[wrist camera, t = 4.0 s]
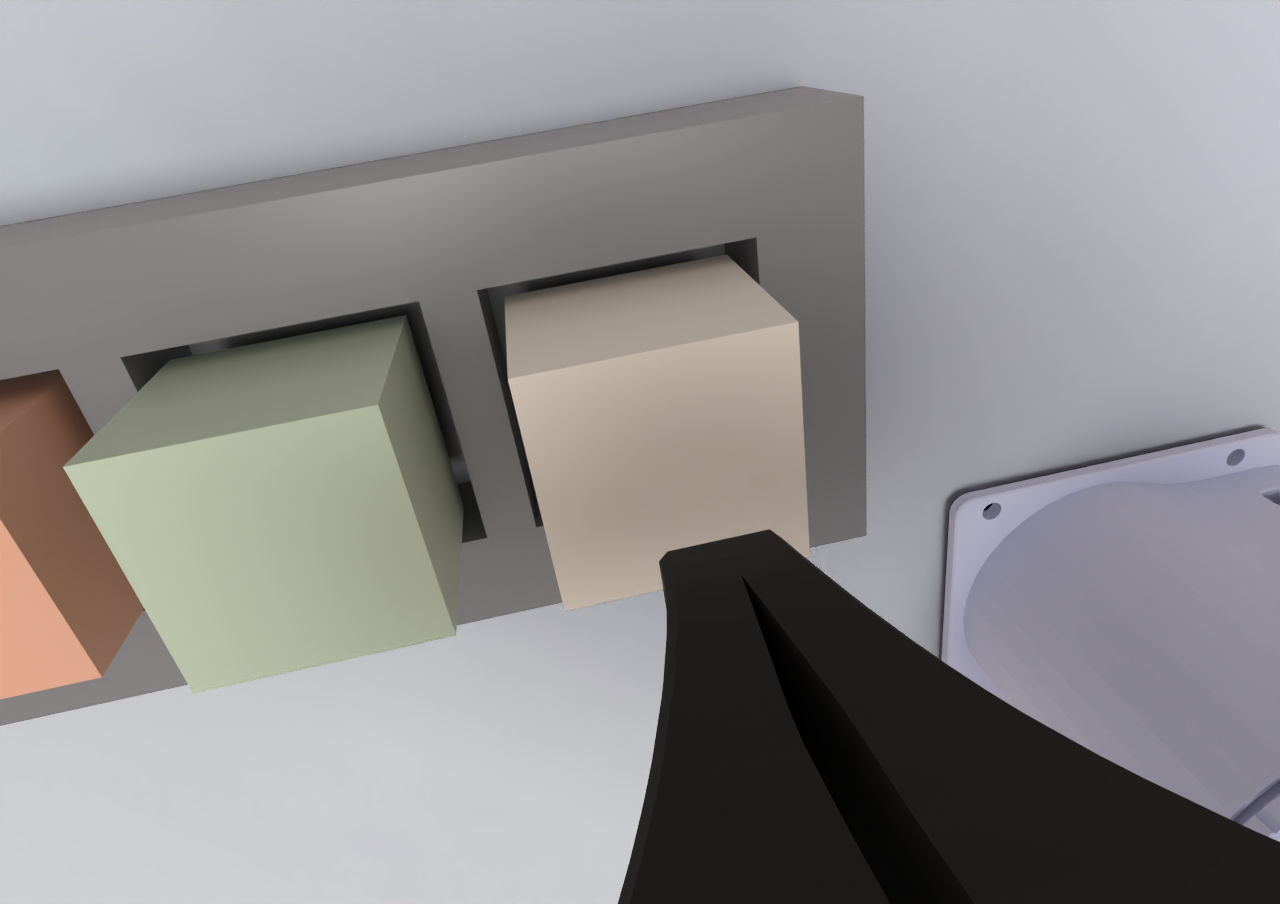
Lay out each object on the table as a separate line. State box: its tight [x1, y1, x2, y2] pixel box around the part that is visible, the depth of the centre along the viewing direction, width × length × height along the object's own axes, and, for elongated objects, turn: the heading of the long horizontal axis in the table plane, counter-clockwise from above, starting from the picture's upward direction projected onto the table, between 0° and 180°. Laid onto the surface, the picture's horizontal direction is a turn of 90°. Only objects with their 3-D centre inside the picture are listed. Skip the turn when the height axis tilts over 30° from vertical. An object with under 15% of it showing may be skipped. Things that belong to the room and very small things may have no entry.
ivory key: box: [504, 254, 810, 611], centre depth 14 cm, size 4×4×4 cm
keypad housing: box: [0, 86, 866, 726], centre depth 16 cm, size 21×9×3 cm, turn 98°
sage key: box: [63, 315, 464, 693], centre depth 13 cm, size 4×4×4 cm
